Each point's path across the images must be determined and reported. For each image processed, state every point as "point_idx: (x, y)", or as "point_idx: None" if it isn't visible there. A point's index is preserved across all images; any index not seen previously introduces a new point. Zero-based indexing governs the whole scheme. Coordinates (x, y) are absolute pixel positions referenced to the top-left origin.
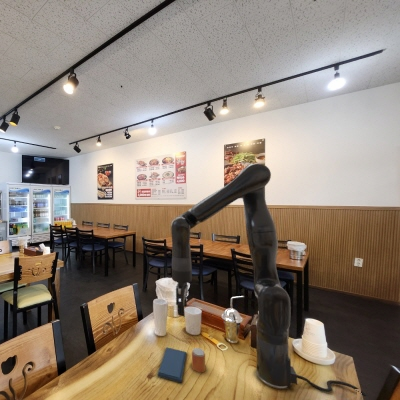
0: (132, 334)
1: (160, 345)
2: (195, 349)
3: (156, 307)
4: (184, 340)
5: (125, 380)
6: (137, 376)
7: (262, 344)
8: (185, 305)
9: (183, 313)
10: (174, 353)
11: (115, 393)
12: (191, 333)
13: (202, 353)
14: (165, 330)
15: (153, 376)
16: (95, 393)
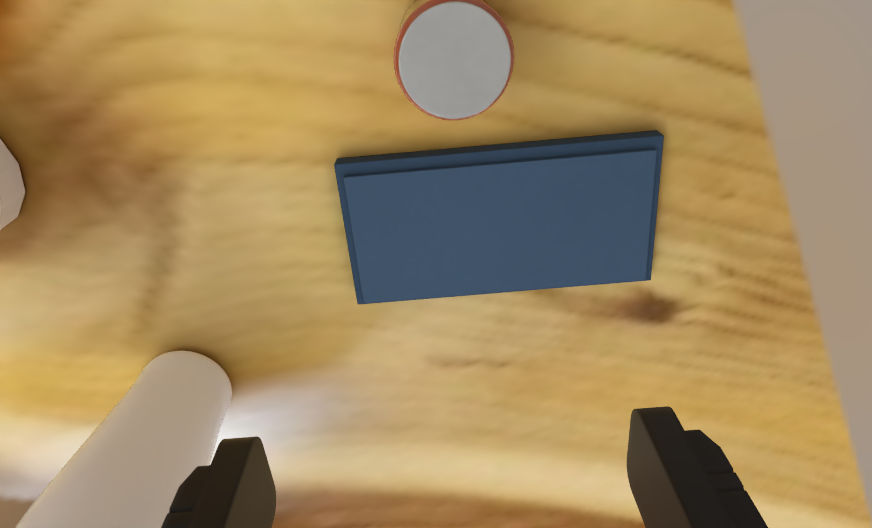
0: (318, 511)
1: (332, 342)
2: (438, 95)
3: None
4: (155, 209)
5: (730, 400)
6: (682, 363)
7: None
8: (259, 453)
9: (679, 430)
10: (408, 240)
11: (827, 404)
12: (17, 178)
13: (471, 20)
14: (178, 371)
15: (653, 292)
16: (845, 469)
